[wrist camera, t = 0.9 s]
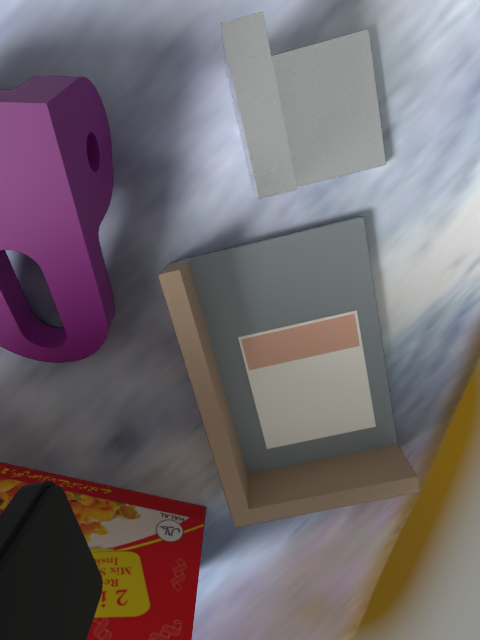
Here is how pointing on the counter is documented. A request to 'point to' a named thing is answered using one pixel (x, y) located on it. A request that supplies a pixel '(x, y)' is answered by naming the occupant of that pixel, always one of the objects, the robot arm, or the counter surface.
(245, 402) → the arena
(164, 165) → the counter surface
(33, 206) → the mounting bracket
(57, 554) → the robot arm
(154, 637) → the pasta box
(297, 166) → the bracket
